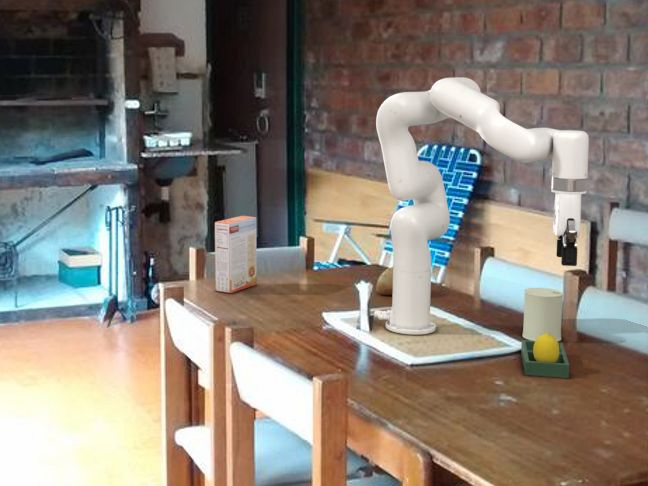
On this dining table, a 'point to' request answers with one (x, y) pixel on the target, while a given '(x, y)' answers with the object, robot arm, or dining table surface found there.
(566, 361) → the holder
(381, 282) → the bread roll
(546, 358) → the lemon
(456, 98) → the robot arm
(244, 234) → the cracker box
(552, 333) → the can
